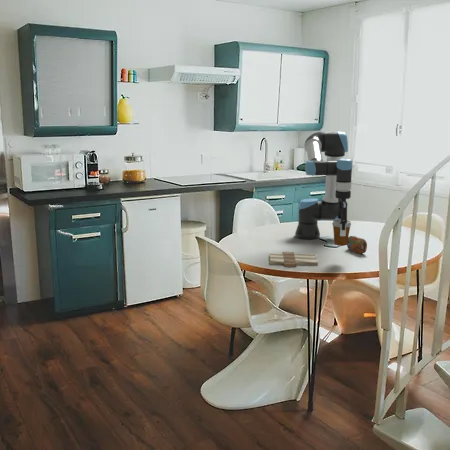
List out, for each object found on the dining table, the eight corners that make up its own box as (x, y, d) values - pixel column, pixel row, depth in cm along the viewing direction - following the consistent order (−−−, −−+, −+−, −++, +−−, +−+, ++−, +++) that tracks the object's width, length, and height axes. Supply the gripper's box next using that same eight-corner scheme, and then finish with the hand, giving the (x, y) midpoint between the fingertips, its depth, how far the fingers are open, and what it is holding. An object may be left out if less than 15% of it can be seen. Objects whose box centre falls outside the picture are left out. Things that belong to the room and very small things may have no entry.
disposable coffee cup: (347, 241, 283) (348, 219, 280) (352, 246, 274) (353, 223, 271) (329, 241, 283) (330, 219, 280) (333, 246, 273) (334, 223, 270)
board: (269, 254, 295) (269, 251, 294) (314, 255, 293) (314, 252, 293) (270, 266, 273) (270, 263, 273) (318, 267, 272) (318, 264, 271)
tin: (345, 249, 306) (346, 234, 304) (350, 248, 307) (351, 233, 305) (362, 255, 292) (363, 240, 290) (367, 255, 293) (368, 239, 291)
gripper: (332, 186, 282) (331, 228, 288) (338, 194, 261) (336, 239, 266) (347, 186, 282) (345, 228, 287) (354, 194, 261) (352, 239, 266)
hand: (341, 233), depth 277 cm, fingers closed on disposable coffee cup, 9 cm apart
